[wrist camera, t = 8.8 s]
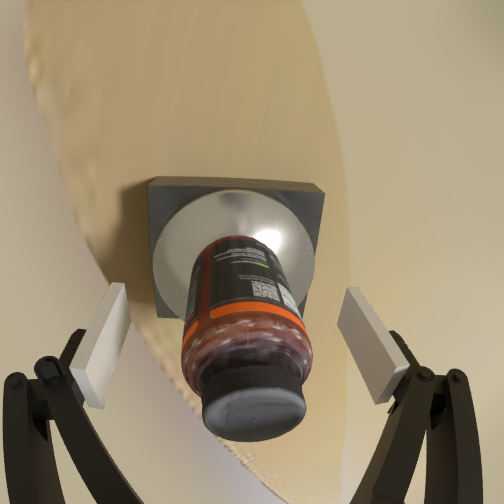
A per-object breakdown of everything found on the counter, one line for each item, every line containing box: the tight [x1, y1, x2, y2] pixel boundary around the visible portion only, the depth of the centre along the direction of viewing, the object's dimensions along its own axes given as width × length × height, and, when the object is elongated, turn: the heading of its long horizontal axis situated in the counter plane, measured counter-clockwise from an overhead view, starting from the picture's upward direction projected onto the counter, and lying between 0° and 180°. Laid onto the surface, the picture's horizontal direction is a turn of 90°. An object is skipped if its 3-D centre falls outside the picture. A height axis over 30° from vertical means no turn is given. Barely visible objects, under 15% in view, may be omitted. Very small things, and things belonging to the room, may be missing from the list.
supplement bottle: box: [181, 235, 313, 442], centre depth 15 cm, size 6×6×11 cm
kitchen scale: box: [148, 176, 325, 321], centre depth 22 cm, size 12×12×5 cm
